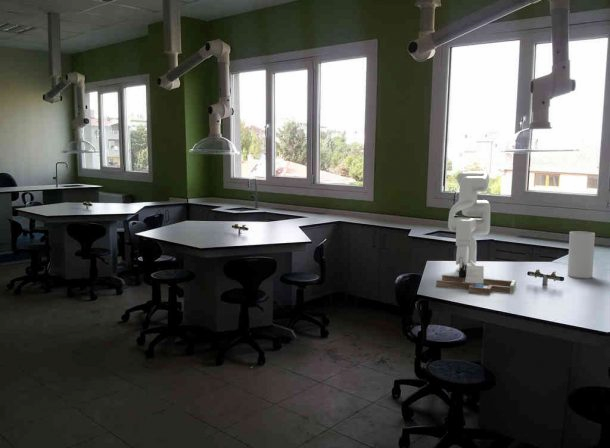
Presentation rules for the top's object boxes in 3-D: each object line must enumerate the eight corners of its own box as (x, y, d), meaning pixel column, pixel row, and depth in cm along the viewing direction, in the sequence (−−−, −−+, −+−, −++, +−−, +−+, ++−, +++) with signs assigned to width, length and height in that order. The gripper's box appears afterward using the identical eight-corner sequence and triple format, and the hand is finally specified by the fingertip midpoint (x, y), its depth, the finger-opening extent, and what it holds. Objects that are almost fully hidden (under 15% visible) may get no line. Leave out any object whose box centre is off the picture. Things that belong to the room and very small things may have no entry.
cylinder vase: (591, 275, 300) (593, 232, 298) (593, 279, 289) (595, 234, 286) (567, 273, 306) (569, 230, 303) (567, 277, 294) (570, 233, 292)
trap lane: (445, 277, 295) (445, 270, 295) (516, 284, 279) (517, 276, 279) (433, 289, 268) (433, 281, 267) (511, 297, 251) (512, 288, 251)
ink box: (483, 288, 269) (484, 262, 268) (466, 287, 271) (467, 262, 269) (481, 284, 278) (482, 259, 276) (464, 284, 279) (465, 259, 278)
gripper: (458, 240, 282) (457, 274, 284) (453, 244, 269) (452, 279, 271) (473, 241, 279) (472, 275, 281) (468, 245, 266) (467, 280, 267)
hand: (462, 277), depth 276 cm, fingers closed
